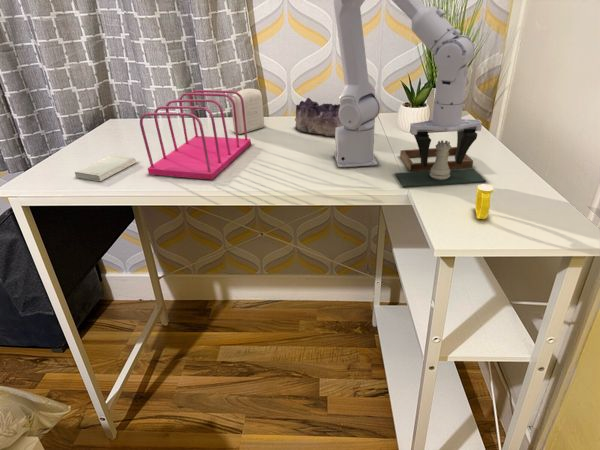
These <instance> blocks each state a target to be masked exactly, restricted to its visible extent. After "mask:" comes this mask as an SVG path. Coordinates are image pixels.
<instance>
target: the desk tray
mask: <svg viewBox="0 0 600 450" xmlns="http://www.w3.org/2000/svg"><path fill="white" fill-rule="evenodd" d="M456 149H457V146H451V148H450V149H449V151H448V152H449V155H448V156H455V155H456ZM436 152H437V148H436V147H433V148H432V147H431V148H430V147H429V151H428V157H436V155H437V154H436ZM399 157H400V159H401V160H402V162H403V163H404V165H405V166H406V167H407V169H408V170H409V172H423V171H430V170H431V168H432V167H433V165H434V163H435V161H428V162H427V166H426V167H423V166H422V164H421V162H413V161H412V160H411V158H420V152H419V148H417V149H416V148H413V149H401V150H400V153H399ZM473 165H474V160H473V159H472V158H471V157H470V156H469V155H468V154H467V153H466V154H465V157H464V159H463V161H462V164H459V165H458V164H457V163H456V162H455V160H448V166H449V169H450V170H456V169H473Z"/></svg>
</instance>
